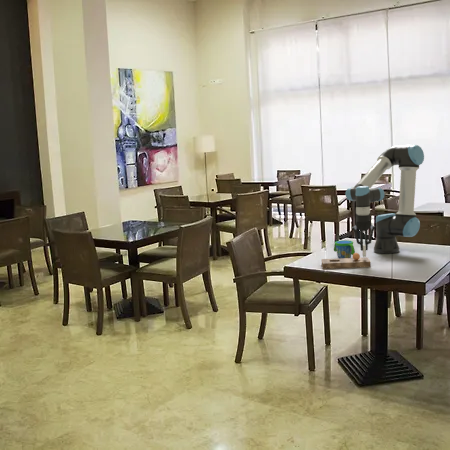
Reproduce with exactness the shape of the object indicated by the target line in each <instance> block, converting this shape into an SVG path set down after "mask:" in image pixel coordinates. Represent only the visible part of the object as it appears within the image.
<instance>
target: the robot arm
mask: <svg viewBox="0 0 450 450" xmlns="http://www.w3.org/2000/svg"><path fill="white" fill-rule="evenodd" d="M424 160H425V153H424V149H422V147H421V146H420V145H417V144H404V145H403V144H402V145H399V144H398V145H393V146H391V147H389V148H388V149H386V150H384V151H383V152H382V153H381V154H380V155H379V156H378V158H377V159H376V162H375V163H374V164H373V165H372V166H371V167H370V168H369V170H368V171H367V172H366V173H365V174H364V175H363V176H362V177H361V179H359V181H358V182H357V183H356V184H355V185H354V187H353V186H351V187H348V188H346V191H345V198H346V200H348V201H352V202H355V214H356V216H355V217H356V218H355V220H356V222H355V225H354V226H351V229H352V230H353V233H354V237H355V240H356V243H357V245H360V251H362V258H363V257H367V251H368V250H369V248H368V247H369V246H368V245H369V244H372V240H373V236H374V231H375V232H376V239H375V243H374V245H373V246H374V247H373V252H374V253H377V254H395V253H399V252H400V246H399V243H398V240H397V237H404V238H412V237H415V236H416V235H417V234H418V233H419V230H420V227H421V222H420V219H419V218H417V214H416V213H415V211H414V210H415V196H416V181H417V180H416V179H417V178H416V177H417V171H418V170H419V169H420V166H421V165H423V163H424ZM394 166H398V169H399V170H400V182H399V196H398V197H399V199H398V200H399V202H398V211H397V212H394V213H384V214H378V215H377V216H376V217H375V225H373V224H372V223H371V203H374V202H376V203H377V202H380V201H383V200H384V198H385V191H384V189H383V188H382V187H373V186H374V185H375V184H376V183H377V181H378V180H379V179H380V178H381V177H382V175H383V174H384V173H385V172H386V171H388V170H390V169H391V168H392V167H394ZM357 229H358V230H359V236H358V231H357ZM369 229H370V232H369V233H368V231H369ZM368 234H369V236H368Z"/></svg>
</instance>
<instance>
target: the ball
mask: <svg viewBox="0 0 450 450" xmlns="http://www.w3.org/2000/svg"><path fill="white" fill-rule="evenodd" d="M352 258H353V259H354V260H358V259H359V258H361V255H360V253H359V252H355V253H354V254H353V255H352Z"/></svg>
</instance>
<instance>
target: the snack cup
mask: <svg viewBox="0 0 450 450" xmlns="http://www.w3.org/2000/svg"><path fill="white" fill-rule="evenodd" d="M333 251H334V252H336V255H337V258H352V256H353V254H354V253H356V251H355V246H354V241H352V240H348V239H347V240H336V241H334V245H333Z"/></svg>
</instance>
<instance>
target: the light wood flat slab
mask: <svg viewBox="0 0 450 450" xmlns="http://www.w3.org/2000/svg"><path fill="white" fill-rule="evenodd" d="M371 262H372V261H371V260H370V259H369V257H368V256H366V257H363V256H362V257H360V258H359V259H358V260H354V259H353V257H351V258H338V257H337V258H321V266H322V269H323V270H325V269H328V270H329V269H349V268H350V269H353V268H354V269H355V268H371V265H372V264H371Z"/></svg>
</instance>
